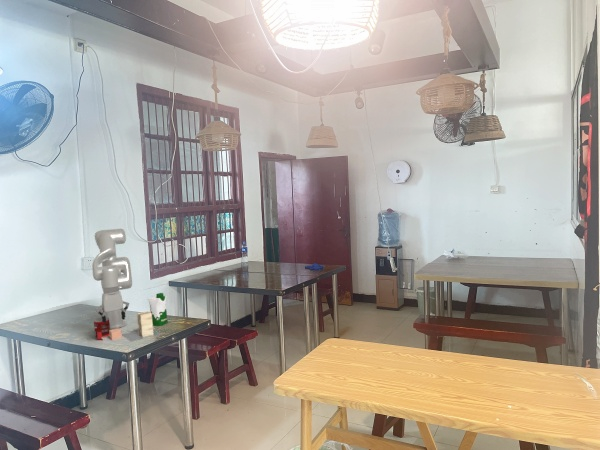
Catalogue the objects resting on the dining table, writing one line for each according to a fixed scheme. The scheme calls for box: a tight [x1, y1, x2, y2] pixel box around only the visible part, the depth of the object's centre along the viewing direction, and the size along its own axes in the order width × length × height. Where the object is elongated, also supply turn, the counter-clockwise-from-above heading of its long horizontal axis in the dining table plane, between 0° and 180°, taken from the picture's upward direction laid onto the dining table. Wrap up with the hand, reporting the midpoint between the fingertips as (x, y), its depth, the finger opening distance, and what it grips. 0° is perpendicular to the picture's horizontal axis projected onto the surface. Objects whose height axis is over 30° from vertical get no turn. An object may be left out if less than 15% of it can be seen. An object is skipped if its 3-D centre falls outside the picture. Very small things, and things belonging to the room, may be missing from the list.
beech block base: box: [137, 324, 154, 337], centre depth 241 cm, size 6×6×6 cm
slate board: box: [122, 329, 161, 343], centre depth 242 cm, size 18×16×2 cm
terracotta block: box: [109, 328, 123, 341], centre depth 238 cm, size 5×5×6 cm
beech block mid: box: [136, 311, 153, 326], centre depth 240 cm, size 6×6×6 cm
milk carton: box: [147, 292, 169, 327], centre depth 260 cm, size 9×9×20 cm
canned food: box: [93, 317, 111, 341], centre depth 245 cm, size 8×8×11 cm
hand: (114, 321), depth 237 cm, fingers open, 9 cm apart
